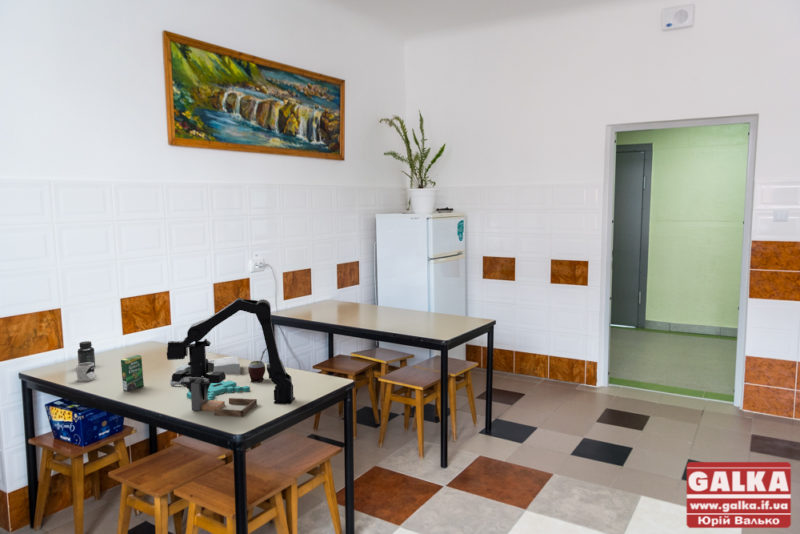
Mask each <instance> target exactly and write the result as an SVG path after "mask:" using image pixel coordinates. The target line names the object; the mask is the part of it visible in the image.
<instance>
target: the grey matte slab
mask: <svg viewBox="0 0 800 534" xmlns="http://www.w3.org/2000/svg"><path fill="white" fill-rule="evenodd" d="M203 382H204V379H197V380H195V381H194V382H193V383H191V400H190V401H191V411H201V410H202V405H204V404H205V403H206V402H208V392H207V395H206V398H205V399H204V400H203V397H202V390H201V383H203Z"/></svg>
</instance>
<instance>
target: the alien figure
mask: <svg viewBox="0 0 800 534" xmlns="http://www.w3.org/2000/svg"><path fill="white" fill-rule="evenodd" d="M240 392H243V393H248V392H251V387H250V385H249V386H248V385H244V386H240V385H237V381H234V380H233V381H232V380H226V381H225V380H223V381H222V382H220V383H211V384H210V386H209V389H208V401H209V400H214V398H216V395H220V394H223V393H229V394H231V393H237V394H238V393H240ZM186 398H187V399H189V400H190V399H191V392H190V391H189V389H188V392H187V393H186Z"/></svg>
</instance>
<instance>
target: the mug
mask: <svg viewBox="0 0 800 534" xmlns="http://www.w3.org/2000/svg"><path fill="white" fill-rule="evenodd" d="M95 377H96V375H95V367H94V363H92V362H86V363H80V364H76V380H77V382H79V383H82V382H84V383H85V382H91V381H93V380H95Z"/></svg>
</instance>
